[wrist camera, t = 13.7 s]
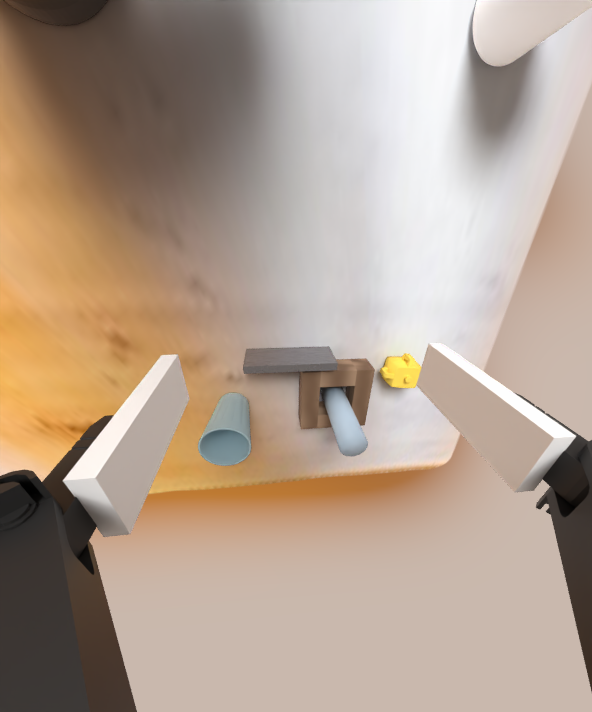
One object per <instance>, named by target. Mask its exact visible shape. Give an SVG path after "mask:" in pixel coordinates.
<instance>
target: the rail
mask: <svg viewBox="0 0 592 712" xmlns="http://www.w3.org/2000/svg"><path fill="white" fill-rule="evenodd" d="M337 365H338V363H337V361H336V359H335V357H334V355H333V353H332V351H331V349H330V348H329V347H299V348H266V349H247V350H246V355H245V360H244V365H243V370H244V374H251V373H276V372H302V371H327V370H337Z"/></svg>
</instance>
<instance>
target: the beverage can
mask: <svg viewBox="0 0 592 712" xmlns="http://www.w3.org/2000/svg"><path fill="white" fill-rule="evenodd" d="M591 7H592V0H477V2H476V6H475V11H474V17H473V39H474V44H475V47H476V50H477V52H478V54H479V56H480V57H481V59H482V60H483V61H484V62H486V63H487V64H489V65H492V66H505V65H508V64H510V63H512V62H514V61H515V60H517V59H518V58H520V57H521V56H522V55H524V54H525V53H527V52H528V51H530V50H531V49H532V48H534V47H535V46H537V45H538V44H540V43H541V42H542V41H544V40H545V39H547V38H548V37H550V36H551V35H552V34H554V33H555V32H557V31H558V30H560V29H561V28H562V27H564V26H565V25H567V24H568V23H570V22H571V21H572V20H574V19H575V18H577V17H578V16H580V15H581V14H582V13H584V12H585V11H587V10H588V9H590V8H591Z"/></svg>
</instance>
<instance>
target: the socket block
mask: <svg viewBox="0 0 592 712" xmlns="http://www.w3.org/2000/svg"><path fill="white" fill-rule="evenodd" d="M336 361H337V363H338V365H337V370H327V371H302V372H300V378H299V420H300V426H301V429H312V428H328V427H332V425H331V422H330V419H329V416H328V413H327V409H326V406H325V403H324V401H319V395H320V387H339V386H346V394H345V395H346V397H347V399H348V401H349V403H350V405H351V407H352V409H353V412H354V414H355V416H356V418H357V420H358V422H359V424H360V426H361V425H365V420H366V415H367V409H368V404H369V399H370V393H371V388H372V382H373V377H374V371H375V369H374V368H373V367H372V366H371V364H370V363H369V362H368V360H367V359H341V360H336Z"/></svg>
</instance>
